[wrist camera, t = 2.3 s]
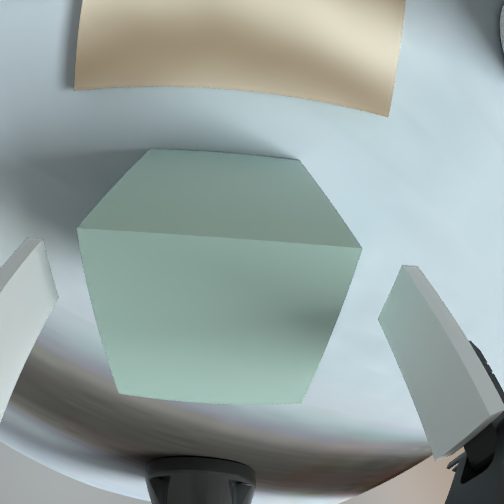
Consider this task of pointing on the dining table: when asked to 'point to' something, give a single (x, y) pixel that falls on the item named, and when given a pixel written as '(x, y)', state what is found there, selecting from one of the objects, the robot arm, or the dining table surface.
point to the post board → (246, 47)
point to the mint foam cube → (216, 276)
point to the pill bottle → (502, 27)
